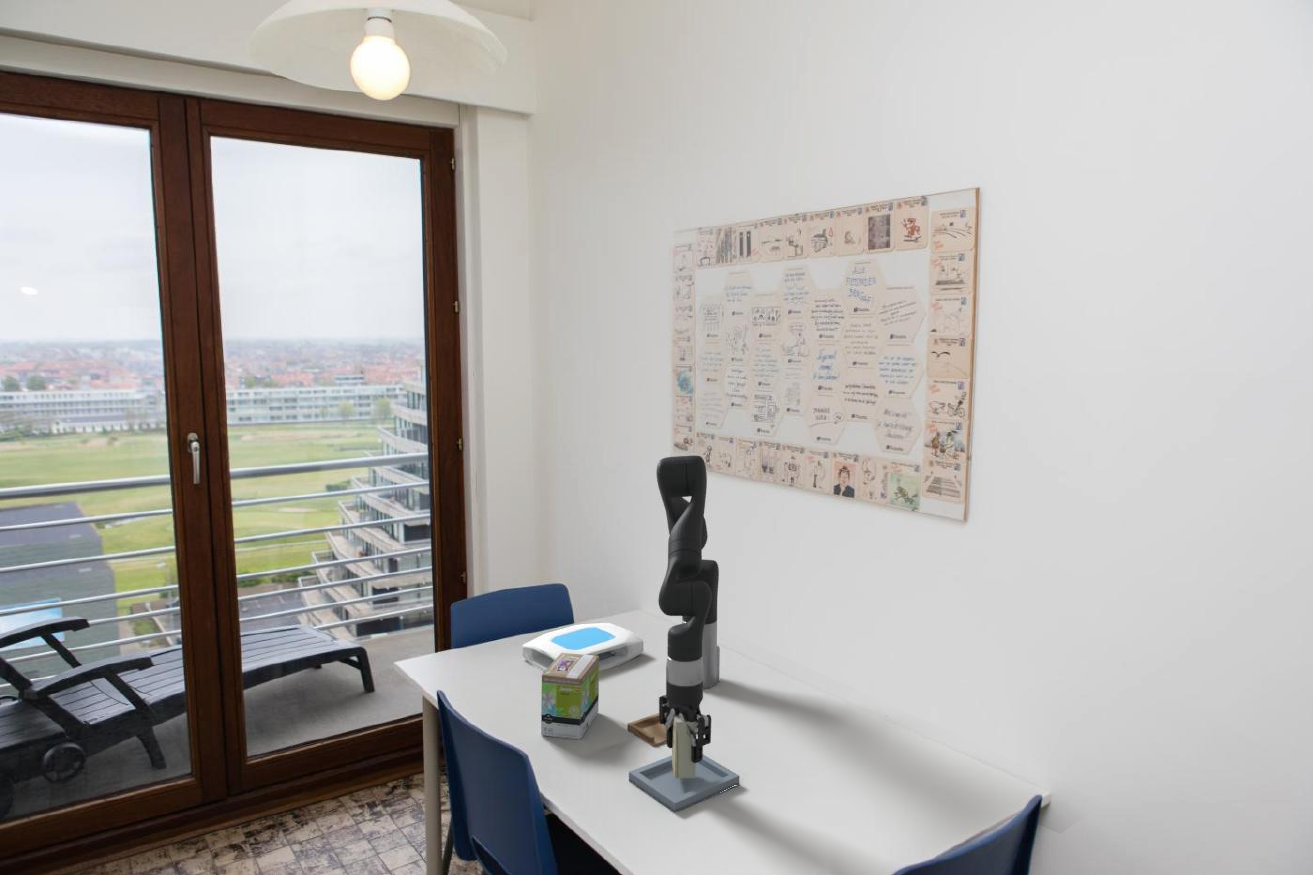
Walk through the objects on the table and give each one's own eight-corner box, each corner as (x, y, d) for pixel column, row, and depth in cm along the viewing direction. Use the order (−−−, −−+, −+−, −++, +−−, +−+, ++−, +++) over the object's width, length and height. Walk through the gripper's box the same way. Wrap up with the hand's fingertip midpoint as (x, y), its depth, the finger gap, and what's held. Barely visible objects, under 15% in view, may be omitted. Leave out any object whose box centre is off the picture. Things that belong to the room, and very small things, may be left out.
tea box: (582, 740, 192) (581, 678, 190) (540, 736, 194) (539, 674, 192) (599, 712, 207) (599, 654, 205) (560, 708, 209) (559, 650, 207)
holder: (664, 717, 204) (664, 711, 204) (691, 733, 196) (691, 726, 196) (627, 730, 197) (627, 723, 197) (653, 746, 189) (653, 739, 189)
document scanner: (521, 660, 240) (521, 639, 240) (599, 637, 259) (599, 618, 258) (565, 683, 225) (564, 660, 224) (644, 657, 243) (644, 636, 242)
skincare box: (671, 763, 177) (671, 708, 175) (692, 763, 177) (693, 707, 176) (674, 779, 170) (675, 722, 169) (696, 778, 171) (697, 721, 169)
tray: (691, 756, 185) (691, 747, 185) (739, 784, 173) (739, 775, 173) (628, 781, 175) (628, 771, 174) (674, 813, 163) (674, 803, 163)
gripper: (722, 683, 168) (721, 762, 170) (676, 661, 179) (676, 735, 181) (693, 693, 163) (692, 774, 165) (648, 670, 175) (648, 746, 177)
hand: (684, 753), depth 173 cm, fingers closed on skincare box, 7 cm apart
